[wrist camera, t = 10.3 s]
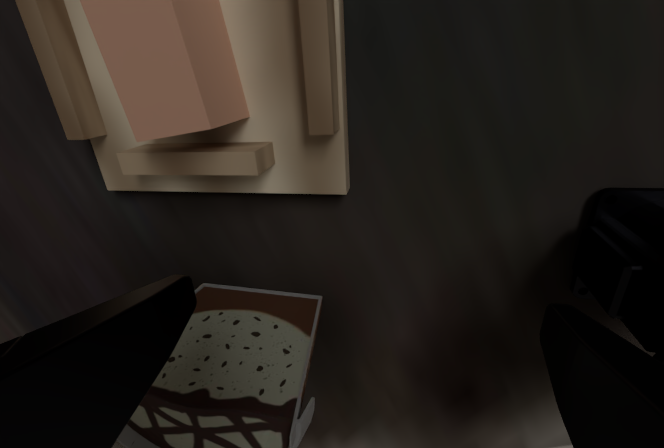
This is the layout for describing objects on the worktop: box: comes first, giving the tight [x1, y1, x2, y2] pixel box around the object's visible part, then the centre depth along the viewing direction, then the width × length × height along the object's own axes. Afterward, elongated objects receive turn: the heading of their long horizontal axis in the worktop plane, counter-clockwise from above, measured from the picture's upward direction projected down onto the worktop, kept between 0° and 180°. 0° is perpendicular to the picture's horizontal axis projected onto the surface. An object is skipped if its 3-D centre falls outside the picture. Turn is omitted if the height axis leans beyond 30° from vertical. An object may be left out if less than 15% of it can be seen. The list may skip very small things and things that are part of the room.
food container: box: [117, 283, 323, 448], centre depth 22 cm, size 12×6×10 cm, turn 91°
